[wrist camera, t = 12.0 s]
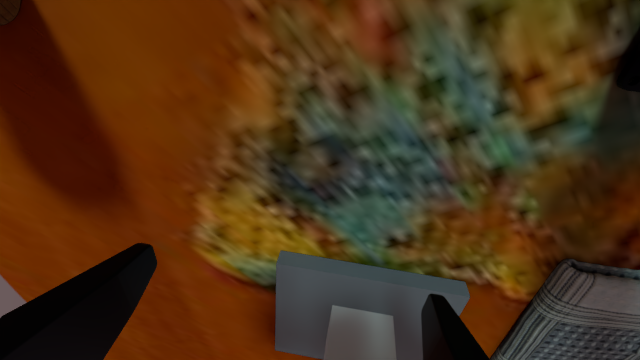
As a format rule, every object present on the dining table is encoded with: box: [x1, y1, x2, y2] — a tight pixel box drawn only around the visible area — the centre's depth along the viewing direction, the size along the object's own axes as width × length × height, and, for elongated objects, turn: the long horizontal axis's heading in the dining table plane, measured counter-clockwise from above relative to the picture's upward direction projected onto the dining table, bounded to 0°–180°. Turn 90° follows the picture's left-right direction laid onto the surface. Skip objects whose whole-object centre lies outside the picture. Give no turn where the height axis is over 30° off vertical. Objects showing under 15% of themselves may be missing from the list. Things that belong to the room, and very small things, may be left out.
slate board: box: [275, 251, 470, 360], centre depth 29 cm, size 16×14×2 cm
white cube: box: [324, 305, 396, 360], centre depth 26 cm, size 6×6×6 cm
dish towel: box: [490, 259, 640, 360], centre depth 26 cm, size 19×18×3 cm
